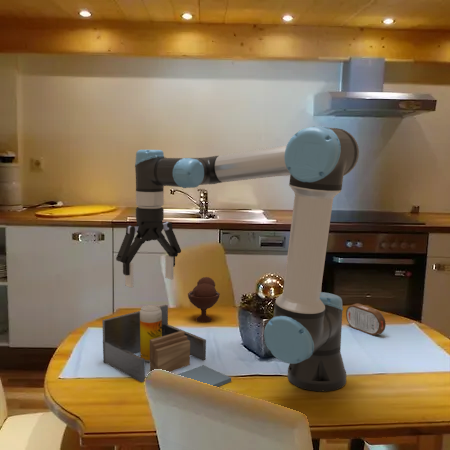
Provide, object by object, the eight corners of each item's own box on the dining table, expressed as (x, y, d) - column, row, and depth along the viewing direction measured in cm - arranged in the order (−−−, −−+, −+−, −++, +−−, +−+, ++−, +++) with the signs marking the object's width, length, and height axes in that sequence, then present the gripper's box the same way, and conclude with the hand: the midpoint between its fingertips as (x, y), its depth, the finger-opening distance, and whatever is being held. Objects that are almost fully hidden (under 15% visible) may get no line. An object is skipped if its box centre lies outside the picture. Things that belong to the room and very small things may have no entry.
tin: (385, 337, 173) (387, 311, 172) (379, 339, 172) (380, 313, 170) (350, 324, 186) (351, 300, 184) (343, 325, 184) (344, 301, 183)
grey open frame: (205, 359, 153) (206, 319, 151) (141, 382, 138) (141, 337, 136) (165, 342, 166) (165, 304, 165) (103, 361, 151) (102, 320, 150)
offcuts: (190, 364, 150) (190, 333, 148) (158, 376, 142) (157, 343, 141) (181, 361, 152) (181, 330, 151) (149, 372, 145) (149, 339, 143)
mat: (231, 381, 139) (231, 377, 139) (199, 394, 132) (199, 390, 132) (203, 368, 147) (203, 364, 147) (171, 380, 140) (171, 376, 140)
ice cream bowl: (187, 315, 193) (187, 274, 191) (218, 314, 194) (218, 274, 192) (188, 325, 182) (188, 282, 180) (221, 324, 184) (221, 281, 181)
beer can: (158, 363, 150) (157, 311, 148) (137, 361, 151) (136, 310, 149) (164, 355, 156) (164, 305, 154) (144, 353, 157) (144, 304, 155)
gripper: (177, 202, 158) (176, 273, 162) (102, 208, 141) (103, 287, 145) (193, 204, 153) (192, 277, 156) (118, 211, 136) (119, 293, 139)
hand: (150, 282), depth 150 cm, fingers open, 13 cm apart
